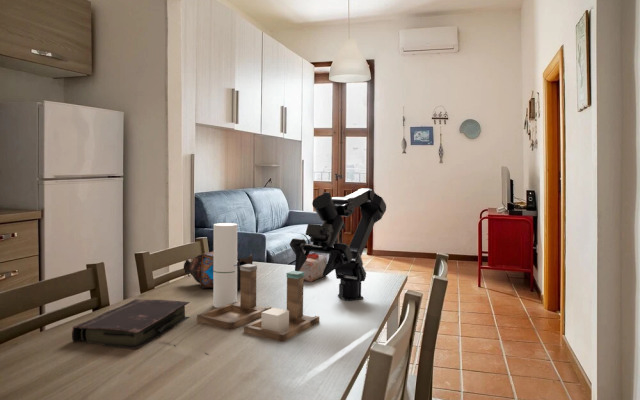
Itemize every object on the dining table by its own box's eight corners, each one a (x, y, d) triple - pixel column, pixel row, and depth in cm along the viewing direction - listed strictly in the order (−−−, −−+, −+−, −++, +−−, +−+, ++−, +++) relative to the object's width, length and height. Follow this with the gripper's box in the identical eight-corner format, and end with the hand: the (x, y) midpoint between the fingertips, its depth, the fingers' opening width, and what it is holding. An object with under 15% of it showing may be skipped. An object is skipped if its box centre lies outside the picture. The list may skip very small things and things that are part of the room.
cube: (273, 326, 126) (273, 307, 125) (288, 329, 123) (289, 310, 123) (261, 331, 121) (261, 312, 121) (277, 335, 119) (277, 315, 118)
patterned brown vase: (248, 305, 170) (184, 296, 175) (260, 265, 179) (199, 258, 185) (236, 284, 157) (167, 275, 162) (250, 242, 166) (184, 235, 172)
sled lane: (282, 317, 136) (283, 267, 135) (319, 325, 129) (320, 273, 129) (243, 335, 121) (243, 279, 120) (282, 345, 115) (283, 286, 114)
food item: (312, 283, 178) (312, 257, 177) (293, 280, 181) (294, 255, 181) (328, 276, 190) (329, 251, 189) (311, 274, 193) (311, 249, 193)
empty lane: (238, 308, 144) (239, 261, 143) (271, 315, 138) (271, 266, 137) (197, 324, 129) (197, 271, 128) (231, 332, 123) (231, 277, 122)
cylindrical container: (241, 303, 150) (241, 223, 148) (229, 309, 143) (229, 226, 142) (221, 300, 152) (221, 222, 151) (208, 306, 146) (208, 225, 144)
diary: (71, 345, 115) (70, 324, 115) (133, 314, 139) (133, 297, 139) (140, 352, 111) (139, 330, 111) (192, 319, 135) (192, 301, 135)
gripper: (293, 211, 144) (270, 253, 135) (348, 215, 134) (328, 260, 125) (306, 234, 151) (286, 275, 142) (360, 240, 141) (342, 284, 133)
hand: (309, 273), depth 135 cm, fingers open, 9 cm apart
